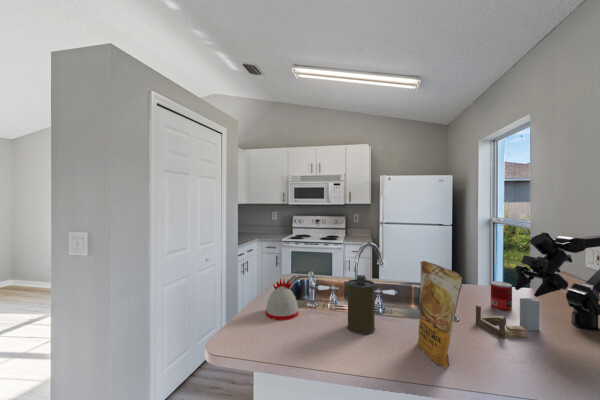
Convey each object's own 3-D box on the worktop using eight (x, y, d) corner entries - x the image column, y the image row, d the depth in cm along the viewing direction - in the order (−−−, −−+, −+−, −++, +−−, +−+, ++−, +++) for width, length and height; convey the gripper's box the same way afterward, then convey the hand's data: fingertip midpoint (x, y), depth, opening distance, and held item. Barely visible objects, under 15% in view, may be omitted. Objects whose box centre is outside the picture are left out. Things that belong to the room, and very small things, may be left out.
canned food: (511, 312, 126) (511, 287, 126) (490, 308, 131) (490, 283, 131) (512, 307, 132) (512, 283, 132) (491, 303, 137) (491, 280, 137)
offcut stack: (519, 333, 106) (519, 324, 106) (528, 337, 103) (528, 329, 103) (502, 333, 105) (502, 325, 105) (510, 338, 102) (510, 330, 102)
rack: (503, 321, 116) (503, 304, 116) (532, 337, 103) (532, 317, 103) (475, 323, 115) (475, 305, 115) (501, 338, 102) (501, 318, 102)
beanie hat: (297, 320, 117) (297, 283, 117) (263, 320, 117) (264, 283, 117) (298, 307, 131) (298, 274, 131) (268, 307, 131) (268, 274, 131)
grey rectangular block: (531, 326, 112) (531, 298, 112) (539, 330, 109) (539, 301, 109) (519, 327, 111) (519, 298, 111) (527, 330, 108) (527, 301, 108)
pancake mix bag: (429, 339, 101) (429, 259, 101) (464, 371, 82) (464, 273, 82) (410, 340, 101) (410, 259, 101) (442, 372, 82) (442, 273, 82)
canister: (375, 336, 104) (376, 280, 104) (346, 333, 106) (346, 278, 106) (374, 323, 114) (374, 273, 114) (347, 321, 116) (347, 271, 116)
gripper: (517, 245, 121) (492, 273, 120) (557, 251, 102) (529, 284, 101) (536, 263, 121) (512, 291, 120) (581, 273, 102) (552, 305, 101)
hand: (525, 292), depth 111 cm, fingers open, 9 cm apart
